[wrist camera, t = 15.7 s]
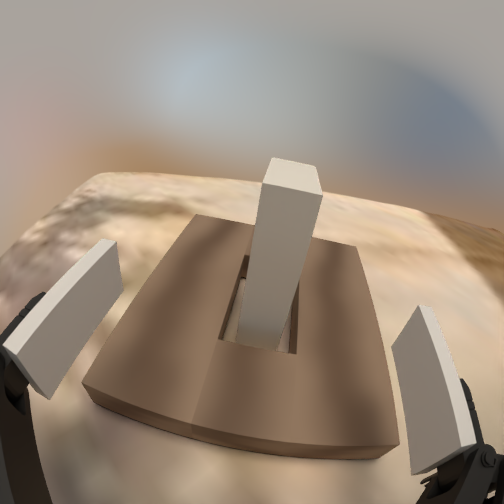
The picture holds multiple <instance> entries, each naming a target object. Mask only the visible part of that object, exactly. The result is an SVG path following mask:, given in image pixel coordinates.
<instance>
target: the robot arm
mask: <svg viewBox="0 0 504 504" xmlns="http://www.w3.org/2000/svg"><path fill="white" fill-rule="evenodd" d="M123 291H124V290H123V284H122V278H121V272H120V265H119V258H118V250H117V242H116V241H112V240H108V239H104V238H102V239H101V240H100V241H99V242H98V243H97V244H96V245H95V246H94V247H93V248H91V249H90V250H89V251H88V252H87V253H86V254H85V255H84V256H83V257H82V258H81V259H80V260H79V261H78V262H77V263H76V264H75V265H74V266H73V267H72V268H71V269H70V270H69V271H68V272H67V273H66V274H65V275H64V276H63V277H62V278H61V279H60V280H59V281H58V282H57V283H56V284H55V285H54V286H53V287H52V288H51V289H50V290H49V291H48V292H47V293H45V292H42V293H40V294H39V295H37V296H35V297H34V298H32V299H31V300H30V301H29V303H28V304H27V305H26V306H25V308H24V309H22V310H21V311H20V313H19V315H18V316H16V317H15V318H14V319H13V321H12V322H11V323H10V324H9V325H8V327H7V328H6V329H5V330H4V331H3V333H2V334H1V335H0V504H53V503H52V500H51V497H50V494H49V491H48V488H47V485H46V481H45V478H44V474H43V471H42V467H41V463H40V459H39V454H38V450H37V445H36V440H35V435H34V429H33V423H32V416H31V408H30V399H29V392H28V389H27V386H28V384H29V383H30V385H31V386H32V387H33V388H34V390H35V391H36V392H38V393H39V394H41V395H42V396H44V397H45V398H47V399H48V400H50V399H51V397H52V396H53V394H54V392H55V391H56V389H57V387H58V386H59V384H60V382H61V381H62V379H63V378H64V376H65V374H66V373H67V371H68V370H69V368H70V367H71V365H72V363H73V362H74V360H75V359H76V357H77V356H78V354H79V353H80V351H81V350H82V348H83V347H84V345H85V344H86V342H87V341H88V339H89V338H90V337H91V335H92V334H93V332H94V331H95V329H96V328H97V327H98V325H99V324H100V322H101V321H102V319H103V318H104V317H105V315H106V314H107V313H108V311H109V310H110V308H111V307H112V306H113V304H114V303H115V302H116V300H117V299H118V298H119V296H120V295H121V294H122V292H123ZM391 348H392V352H393V356H394V361H395V366H396V370H397V375H398V380H399V385H400V391H401V396H402V402H403V408H404V414H405V421H406V428H407V436H408V444H409V454H410V465H411V475H418V474H423V473H427V472H429V471H431V470H433V469H435V468H437V473H435V474H433V475H431V476H429V477H427V478H425V479H423V480H422V481H421V483H420V484H424V483H426V482H428V481H430V482H429V483H427V484H426V485H425V487H426V488H425V490H424V492H423V493H422V495H421V496H420V498H419V500H418V501H417V503H416V504H504V455H500V454H496V451H495V449H494V448H493V447H492V446H491V445H488V444H484V441H483V437H482V433H481V428H480V424H479V420H478V417H477V413H476V410H475V406H474V402H472V400H473V399H472V395H471V392H470V389H469V387H468V386H467V384H466V383H465V381H464V380H463V379H459V376H458V373H457V370H456V367H455V364H454V361H453V358H452V356H451V353H450V350H449V348H448V345H447V342H446V340H445V337H444V335H443V332H442V330H441V328H440V325H439V323H438V320H437V318H436V316H435V314H434V311H433V309H432V307H429V306H423V305H418V306H417V308H416V310H415V311H414V313H413V314H412V316H411V318H410V319H409V321H408V322H407V324H406V325H405V327H404V329H403V330H402V332H401V333H400V335H399V336H398V338H397V339H396V341H395V342H394V343H393V345H392V346H391ZM494 490H496V492H495V496H493V497H491V498H489V499H488V498H487V495H488V493H490V492H492V491H494Z"/></svg>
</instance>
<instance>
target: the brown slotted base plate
mask: <svg viewBox="0 0 504 504" xmlns="http://www.w3.org/2000/svg"><path fill="white" fill-rule="evenodd" d="M254 229H255V225H250V224H245V223H240V222H235V221H230V220H225V219H219V218H214V217H209V216H203V215H198V214H196V215H195V216H194V217H193V219H192V220H191V221H190V222H189V224H188V225H187V226H186V228H185V229H184V230H183V232H182V233H181V234H180V236H179V237H178V238H177V240H176V241H175V242H174V244H173V245H172V246H171V248H170V249H169V250H168V252H167V253H166V254H165V256H164V257H163V258H162V260H161V261H160V263H159V264H158V265H157V267H156V268H155V270H154V271H153V272H152V274H151V275H150V277H149V278H148V279H147V281H146V282H145V284H144V285H143V287H142V288H141V289H140V291H139V292H138V294H137V295H136V297H135V298H134V300H133V301H132V303H131V304H130V306H129V307H128V309H127V310H126V312H125V313H124V315H123V316H122V318H121V319H120V321H119V322H118V324H117V325H116V327H115V328H114V330H113V331H112V333H111V335H110V336H109V338H108V339H107V341H106V342H105V344H104V346H103V347H102V349H101V350H100V352H99V354H98V355H97V357H96V359H95V360H94V362H93V364H92V365H91V367H90V369H89V370H88V372H87V374H86V375H85V377H84V379H83V380H82V382H81V383H82V384H83V386H84V388H85V389H86V391H87V392H88V394H89V396H90V397H91V399H92V400H93V402H94V403H96V404H99V405H101V406H103V407H105V408H108V409H110V410H112V411H114V412H117V413H119V414H122V415H124V416H127V417H129V418H132V419H134V420H137V421H140V422H142V423H145V424H148V425H151V426H154V427H157V428H160V429H163V430H166V431H169V432H172V433H175V434H179V435H182V436H186V437H189V438H193V439H197V440H201V441H205V442H209V443H213V444H217V445H222V446H227V447H232V448H237V449H242V450H248V451H254V452H260V453H267V454H275V455H284V456H293V457H306V458H324V459H368V458H379V457H381V456H383V455H384V454H386V453H387V452H389V451H390V450H392V449H393V448H395V447H396V446H398V445H399V444H400V442H399V434H398V426H397V418H396V411H395V405H394V398H393V392H392V387H391V381H390V376H389V370H388V365H387V360H386V356H385V351H384V346H383V342H382V338H381V333H380V329H379V325H378V321H377V317H376V313H375V309H374V305H373V302H372V298H371V294H370V291H369V287H368V284H367V280H366V277H365V274H364V270H363V267H362V264H361V260H360V257H359V254H358V251H357V248H356V247H355V246H350V245H346V244H341V243H337V242H332V241H327V240H323V239H318V238H314V237H311V241H310V245H309V248H308V252H307V255H306V258H305V262H304V265H303V269H302V272H301V275H300V279H299V282H298V285H297V288H296V292H295V295H294V298H293V301H292V318H291V333H290V347H289V353H284V352H278V351H272V350H267V349H262V348H257V347H252V346H247V345H242V344H238V343H233V342H228V341H224V340H222V338H223V335H224V331H225V328H226V325H227V321H228V318H229V315H230V311H231V308H232V305H233V302H234V298H235V295H236V292H237V288H238V285H239V282H240V278H241V277H245V278H246V277H247V271H248V265H249V259H250V253H251V247H252V241H253V235H254Z"/></svg>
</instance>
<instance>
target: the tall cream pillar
mask: <svg viewBox="0 0 504 504" xmlns="http://www.w3.org/2000/svg"><path fill="white" fill-rule="evenodd" d="M322 197H323V194H322V190H321V186H320V182H319V178H318V174H317V171H316V167H315V166H312V165H307V164H303V163H298V162H293V161H289V160H283V159H278V158H273V157H272V159H271V162H270V164H269V167H268V170H267V172H266V175H265V177H264V180H263V182H262V188H261V194H260V200H259V206H258V212H257V217H256V223H255V229H254V235H253V241H252V247H251V253H250V259H249V265H248V271H247V277H246V283H245V288H244V294H243V300H242V306H241V312H240V318H239V324H238V330H237V336H236V342H235V343H238V344H242V345H247V346H252V347H257V348H262V349H267V350H272V351H276V350H277V347H278V344H279V341H280V338H281V335H282V332H283V329H284V326H285V323H286V320H287V317H288V314H289V311H290V307H291V304H292V301H293V298H294V295H295V292H296V288H297V285H298V282H299V279H300V275H301V272H302V269H303V265H304V262H305V258H306V255H307V252H308V248H309V245H310V241H311V237H312V234H313V230H314V227H315V223H316V219H317V216H318V212H319V208H320V204H321V200H322Z"/></svg>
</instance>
